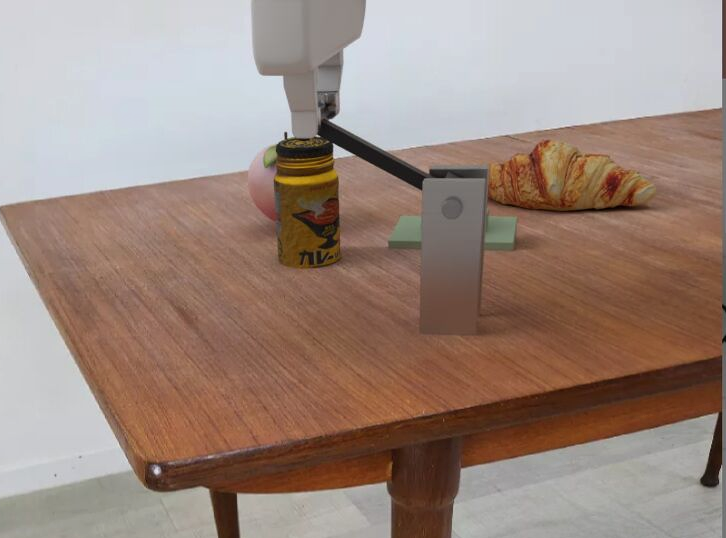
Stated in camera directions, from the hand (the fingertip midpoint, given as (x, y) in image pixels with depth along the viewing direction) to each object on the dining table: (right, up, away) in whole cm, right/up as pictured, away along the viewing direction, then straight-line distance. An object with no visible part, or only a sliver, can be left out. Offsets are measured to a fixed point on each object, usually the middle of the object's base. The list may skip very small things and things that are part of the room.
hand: (317, 126), depth 69 cm
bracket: (+11, -14, +7) cm, 19 cm away
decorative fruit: (-3, +5, +36) cm, 37 cm away
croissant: (+28, +9, +39) cm, 49 cm away
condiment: (-1, -4, +23) cm, 23 cm away
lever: (+5, -3, +1) cm, 6 cm away
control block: (+14, 0, +26) cm, 30 cm away
